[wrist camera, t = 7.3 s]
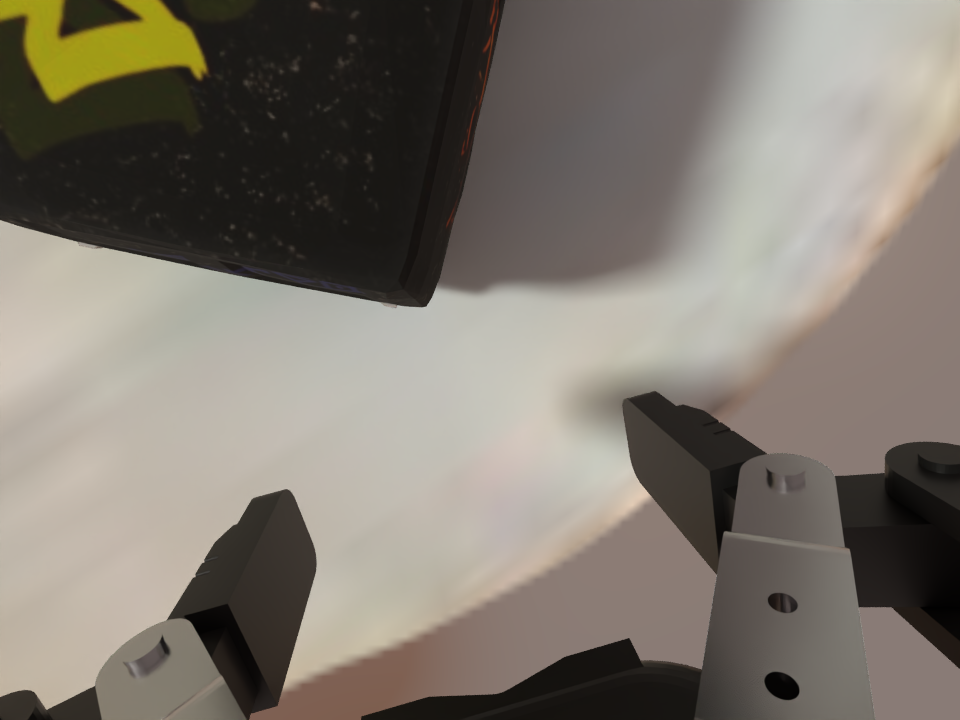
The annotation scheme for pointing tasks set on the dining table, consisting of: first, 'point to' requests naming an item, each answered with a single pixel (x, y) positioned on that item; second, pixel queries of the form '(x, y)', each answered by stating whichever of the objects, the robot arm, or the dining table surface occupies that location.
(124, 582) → the dining table surface
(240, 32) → the toy van
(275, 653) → the robot arm
